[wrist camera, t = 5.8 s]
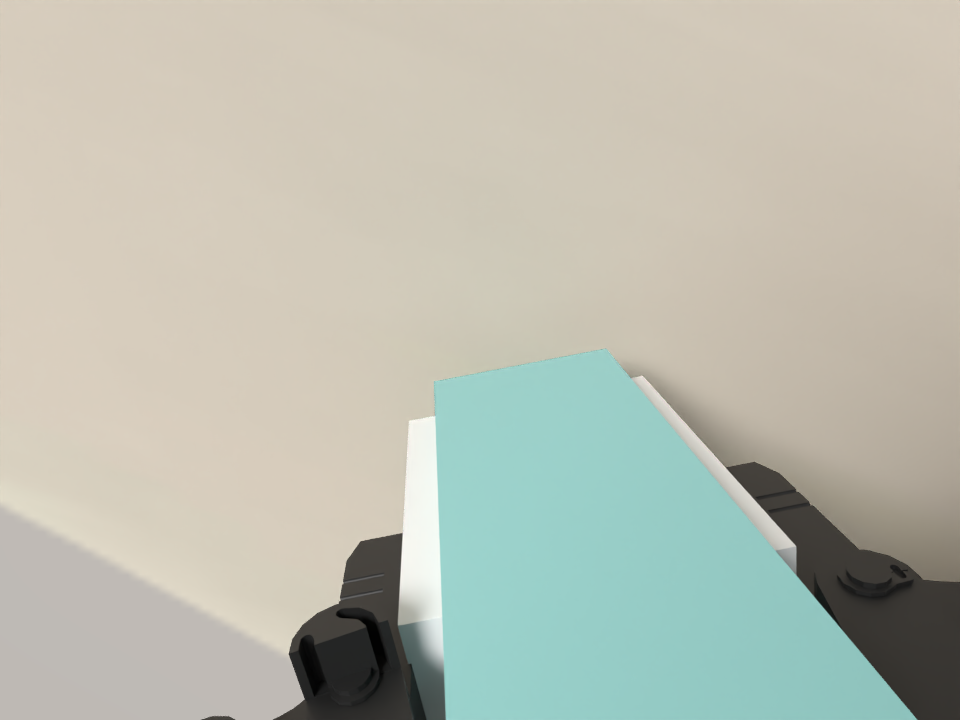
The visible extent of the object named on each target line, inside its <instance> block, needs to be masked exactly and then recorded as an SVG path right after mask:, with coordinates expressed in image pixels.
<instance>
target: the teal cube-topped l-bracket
mask: <svg viewBox="0 0 960 720" xmlns="http://www.w3.org/2000/svg"><path fill="white" fill-rule="evenodd" d="M434 397H435V425H436V454H437V482H438V511H439V540H440V568H441V597H442V625H443V654H444V683H445V711H446V720H917V719H916V718H915V716H914V715H913V714H912V713H911V712H910V710H909V709H908V708H907V707H906V706H905V704H904V703H903V702H902V701H901V700H900V699H899V697H898V696H897V695H896V694H895V693H894V691H893V690H892V689H891V688H890V687H889V685H888V684H887V683H886V682H885V681H884V679H883V678H882V677H881V676H880V675H879V673H878V672H877V671H876V670H875V669H874V668H873V666H872V665H871V664H870V663H869V662H868V660H867V659H866V658H865V657H864V656H863V654H862V653H861V652H860V651H859V650H858V648H857V647H856V646H855V645H854V644H853V642H852V641H851V640H850V639H849V638H848V637H847V635H846V634H845V633H844V632H843V631H842V629H841V628H840V627H839V626H838V625H837V623H836V622H835V621H834V620H833V619H832V617H831V616H830V615H829V614H828V613H827V611H826V610H825V609H824V608H823V607H822V606H821V604H820V603H819V602H818V601H817V600H816V598H815V597H814V596H813V595H812V594H811V592H810V591H809V590H808V589H807V588H806V586H805V585H804V584H803V583H802V582H801V580H800V579H799V578H798V577H797V576H796V575H795V573H794V572H793V571H792V570H791V569H790V567H789V566H788V565H787V564H786V563H785V561H784V560H783V559H782V558H781V557H780V555H779V554H778V553H777V552H776V551H775V549H774V548H773V547H772V546H771V545H770V544H769V542H768V541H767V540H766V539H765V538H764V536H763V535H762V534H761V533H760V532H759V530H758V529H757V528H756V527H755V526H754V524H753V523H752V522H751V521H750V520H749V518H748V517H747V516H746V515H745V514H744V513H743V511H742V510H741V509H740V508H739V507H738V505H737V504H736V503H735V502H734V501H733V499H732V498H731V497H730V496H729V495H728V493H727V492H726V491H725V490H724V489H723V487H722V486H721V485H720V484H719V483H718V482H717V480H716V479H715V478H714V477H713V476H712V474H711V473H710V472H709V471H708V470H707V468H706V467H705V466H704V465H703V464H702V462H701V461H700V460H699V459H698V458H697V456H696V455H695V454H694V453H693V452H692V451H691V449H690V448H689V447H688V446H687V445H686V443H685V442H684V441H683V440H682V439H681V437H680V436H679V435H678V434H677V433H676V431H675V430H674V429H673V428H672V427H671V425H670V424H669V423H668V422H667V421H666V420H665V418H664V417H663V416H662V415H661V414H660V412H659V411H658V410H657V409H656V408H655V406H654V405H653V404H652V403H651V402H650V400H649V399H648V398H647V397H646V396H645V394H644V393H643V392H642V391H641V390H640V389H639V387H638V386H637V385H636V384H635V383H634V381H633V380H632V379H631V378H630V377H629V375H628V374H627V373H626V372H625V371H624V369H623V368H622V367H621V366H620V365H619V363H618V362H617V361H616V360H615V359H614V358H613V356H612V355H611V354H610V353H609V352H608V350H607V349H601V350H596V351H591V352H586V353H580V354H575V355H570V356H565V357H559V358H554V359H549V360H544V361H539V362H533V363H528V364H523V365H518V366H513V367H507V368H502V369H497V370H492V371H487V372H481V373H476V374H471V375H466V376H460V377H455V378H450V379H445V380H440V381H434Z"/></svg>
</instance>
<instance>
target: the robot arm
mask: <svg viewBox="0 0 960 720" xmlns="http://www.w3.org/2000/svg"><path fill="white" fill-rule="evenodd" d="M631 379H632V380H633V381H634V383H635V384H636V385H637V386H638V387H639V389H640V390H641V391H642V392H643V393H644V394H645V396H646V397H647V398H648V399H649V400H650V402H651V403H652V404H653V405H654V406H655V408H656V409H657V410H658V411H659V412H660V414H661V415H662V416H663V417H664V418H665V420H666V421H667V422H668V423H669V424H670V425H671V427H672V428H673V429H674V430H675V431H676V433H677V434H678V435H679V436H680V437H681V439H682V440H683V441H684V442H685V443H686V445H687V446H688V447H689V448H690V449H691V451H692V452H693V453H694V454H695V455H696V456H697V458H698V459H699V460H700V461H701V462H702V464H703V465H704V466H705V467H706V468H707V470H708V471H709V472H710V473H711V474H712V476H713V477H714V478H715V479H716V480H717V482H718V483H719V484H720V485H721V486H722V487H723V489H724V490H725V491H726V492H727V493H728V495H729V496H730V497H731V498H732V499H733V501H734V502H735V503H736V504H737V505H738V507H739V508H740V509H741V510H742V511H743V513H744V514H745V515H746V516H747V517H748V518H749V520H750V521H751V522H752V523H753V524H754V526H755V527H756V528H757V529H758V530H759V532H760V533H761V534H762V535H763V536H764V538H765V539H766V540H767V541H768V542H769V544H770V545H771V546H772V547H773V548H774V549H775V551H776V552H777V553H778V554H779V555H780V557H781V558H782V559H783V560H784V561H785V563H786V564H787V565H788V566H789V567H790V569H791V570H792V571H793V572H794V573H795V575H796V576H797V577H798V578H799V579H800V580H801V582H802V583H803V584H804V585H805V586H806V588H807V589H808V590H809V591H810V592H811V594H812V595H813V596H814V597H815V598H816V600H817V601H818V602H819V603H820V604H821V606H822V607H823V608H824V609H825V610H826V611H827V613H828V614H829V615H830V616H831V617H832V619H833V620H834V621H835V622H836V623H837V625H838V626H839V627H840V628H841V629H842V631H843V632H844V633H845V634H846V635H847V637H848V638H849V639H850V640H851V641H852V642H853V644H854V645H855V646H856V647H857V648H858V650H859V651H860V652H861V653H862V654H863V656H864V657H865V658H866V659H867V660H868V662H869V663H870V664H871V665H872V666H873V668H874V669H875V670H876V671H877V672H878V673H879V675H880V676H881V677H882V678H883V679H884V681H885V682H886V683H887V684H888V685H889V687H890V688H891V689H892V690H893V691H894V693H895V694H896V695H897V696H898V697H899V699H900V700H901V701H902V702H903V703H904V704H905V706H906V707H907V708H908V709H909V710H910V712H911V713H912V714H913V715H914V716H915V718H916V719H917V720H960V582H939V581H929V580H922V578H921V577H920V576H919V575H918V574H917V573H916V572H914V571H913V570H912V569H911V568H910V567H909V566H908V565H906V564H904V563H902V562H900V561H898V560H896V559H894V558H892V557H890V556H888V555H884V554H880V553H876V552H872V551H868V550H859V549H858V548H857V547H856V546H855V545H854V544H853V543H851V542H850V541H849V540H848V539H847V538H846V537H845V536H844V535H843V534H842V533H841V532H840V531H839V530H838V529H837V528H836V527H835V526H834V525H833V524H832V523H831V522H830V521H829V520H827V519H826V518H825V517H824V516H823V515H822V514H821V513H820V512H819V511H818V510H817V509H816V508H815V507H814V506H813V505H812V506H810V504H809V501H808V500H807V499H806V498H805V497H804V496H802V495H801V494H800V493H799V492H796V489H795V488H794V487H793V486H792V485H791V484H790V483H789V482H788V481H787V480H786V479H785V478H784V477H783V476H782V475H781V474H780V473H777V472H775V471H773V470H771V469H769V468H767V467H765V466H762V465H760V464H758V463H756V462H752V463H747V464H742V465H737V466H732V467H727V468H725V467H724V465H723V464H722V463H721V462H720V461H719V460H718V459H717V458H716V457H715V455H714V454H713V453H712V452H711V451H710V450H709V449H708V448H707V447H706V445H705V444H704V443H703V442H702V441H701V440H700V439H699V438H698V437H697V435H696V434H695V433H694V432H693V431H692V430H691V429H690V428H689V427H688V425H687V424H686V423H685V422H684V421H683V420H682V419H681V418H680V417H679V415H678V414H677V413H676V412H675V411H674V410H673V409H672V408H671V407H670V405H669V404H668V403H667V402H666V401H665V400H664V399H663V398H662V396H661V395H660V394H659V393H658V392H657V391H656V390H655V389H654V388H653V386H652V385H651V384H650V383H649V382H648V381H647V380H646V379H645V378H644V376H638V377H633V378H631ZM343 582H344V584H342V590H341V595H340V599H341V601H339V604H337V605H334V606H332V607H330V608H327V609H325V610H323V611H321V612H319V613H317V614H316V615H315V616H313V617H312V618H311V619H310V620H308V621H307V622H306V623H305V624H303V625H302V627H301V628H300V630H299V631H298V632H297V634H296V635H295V636H294V638H293V639H292V643H291V647H290V651H289V656H290V659H291V662H292V664H293V667H294V670H295V673H296V676H297V678H298V681H299V684H300V687H301V690H302V692H303V695H304V698H305V700H304V701H302V702H301V703H300V704H299V705H297V706H296V707H295V708H294V709H292V710H290V711H288V712H287V713H285V714H283V715H281V716H280V717H278V718H276V719H273V720H446V711H445V683H444V654H443V625H442V597H441V568H440V540H439V511H438V482H437V454H436V425H435V416H431V417H426V418H421V419H416V420H411V421H409V431H408V449H407V467H406V485H405V503H404V521H403V533H401V534H396V535H391V536H386V537H380V538H375V539H370V540H365V541H361V542H360V543H359V545H358V546H357V547H356V549H355V550H354V551H353V553H352V554H351V556H350V557H349V558H348V560H347V562H346V568H345V573H344V579H343ZM202 720H235V719H233V718H231V717H229V716H228V717H227V716H223V717H222V716H212V717H208V718H206V719H202Z"/></svg>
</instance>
